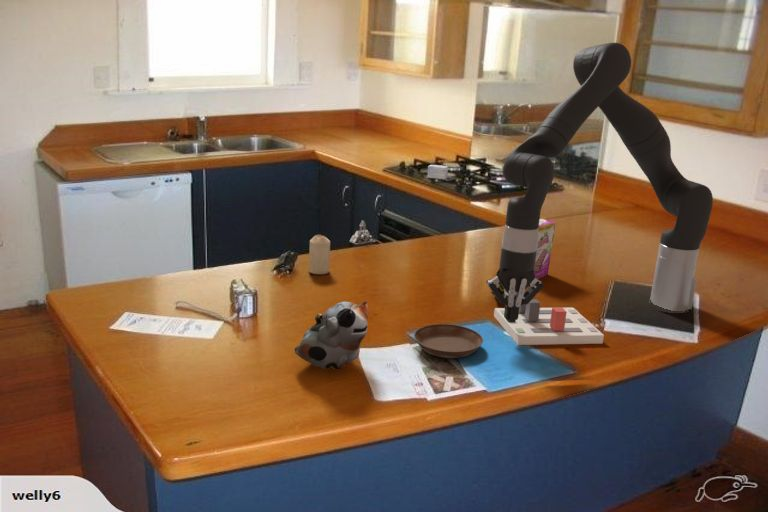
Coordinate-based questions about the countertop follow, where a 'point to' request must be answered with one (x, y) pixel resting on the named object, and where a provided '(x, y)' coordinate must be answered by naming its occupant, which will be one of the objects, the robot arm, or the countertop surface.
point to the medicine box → (437, 171)
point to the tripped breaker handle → (558, 319)
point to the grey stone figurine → (361, 237)
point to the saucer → (448, 340)
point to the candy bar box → (544, 247)
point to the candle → (319, 255)
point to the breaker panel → (548, 327)
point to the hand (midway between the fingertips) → (510, 321)
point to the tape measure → (500, 290)
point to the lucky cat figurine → (335, 336)
